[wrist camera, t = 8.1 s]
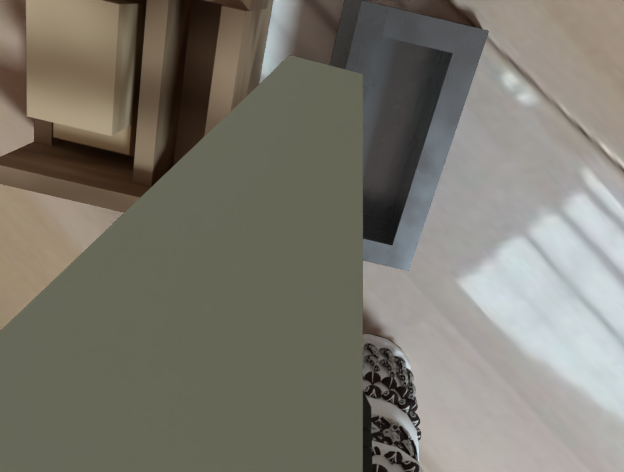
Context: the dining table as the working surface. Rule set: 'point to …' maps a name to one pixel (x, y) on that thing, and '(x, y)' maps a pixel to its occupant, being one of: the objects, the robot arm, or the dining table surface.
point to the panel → (211, 306)
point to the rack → (157, 104)
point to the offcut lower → (127, 136)
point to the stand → (404, 114)
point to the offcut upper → (82, 62)
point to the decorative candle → (391, 406)
